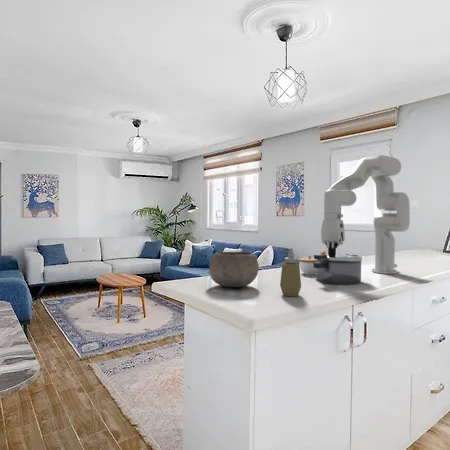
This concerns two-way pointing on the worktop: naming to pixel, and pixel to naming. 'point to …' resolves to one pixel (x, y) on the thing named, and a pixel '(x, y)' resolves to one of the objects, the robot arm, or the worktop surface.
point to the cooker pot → (338, 272)
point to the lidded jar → (307, 265)
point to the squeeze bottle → (290, 276)
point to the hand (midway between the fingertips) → (331, 256)
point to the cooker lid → (338, 257)
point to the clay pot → (233, 268)
